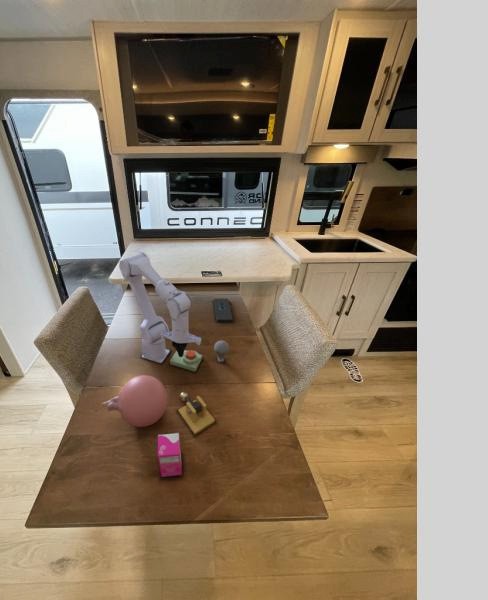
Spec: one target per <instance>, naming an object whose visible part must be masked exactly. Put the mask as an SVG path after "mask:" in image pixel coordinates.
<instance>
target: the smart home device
mask: <svg viewBox="0 0 488 600" xmlns="http://www.w3.org/2000/svg"><path fill="white" fill-rule="evenodd" d="M213 307H214V312H215V320H216V323H233V321H234V320H233V314H232V310H231V306H230V301H229V299H228V298H213Z"/></svg>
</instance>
